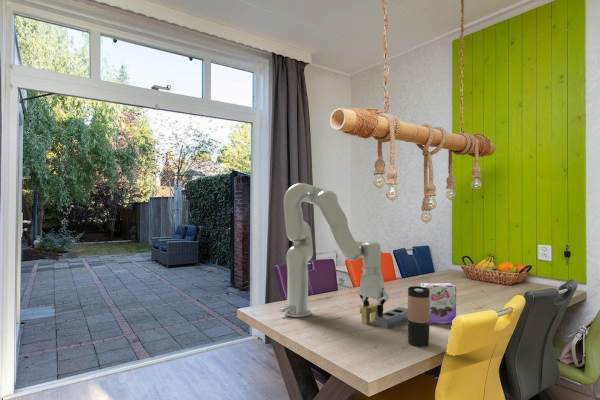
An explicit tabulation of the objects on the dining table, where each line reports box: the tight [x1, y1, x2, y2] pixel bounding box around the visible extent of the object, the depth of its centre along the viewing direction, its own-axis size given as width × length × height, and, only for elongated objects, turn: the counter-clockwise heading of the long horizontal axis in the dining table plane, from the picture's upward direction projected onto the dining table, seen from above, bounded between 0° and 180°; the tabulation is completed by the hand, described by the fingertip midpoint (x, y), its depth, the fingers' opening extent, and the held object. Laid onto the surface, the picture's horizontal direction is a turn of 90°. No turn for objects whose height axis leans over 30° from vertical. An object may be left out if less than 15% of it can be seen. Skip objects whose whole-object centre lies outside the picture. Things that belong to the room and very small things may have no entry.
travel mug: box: [407, 285, 431, 348], centre depth 133 cm, size 8×8×20 cm
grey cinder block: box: [374, 306, 408, 330], centre depth 157 cm, size 20×6×4 cm, turn 135°
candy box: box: [419, 282, 457, 325], centre depth 157 cm, size 14×6×16 cm, turn 94°
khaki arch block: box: [359, 302, 379, 325], centre depth 158 cm, size 11×3×6 cm, turn 135°
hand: (373, 311), depth 157 cm, fingers open, 6 cm apart
